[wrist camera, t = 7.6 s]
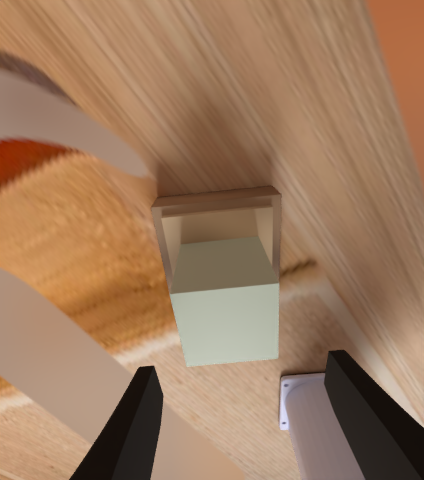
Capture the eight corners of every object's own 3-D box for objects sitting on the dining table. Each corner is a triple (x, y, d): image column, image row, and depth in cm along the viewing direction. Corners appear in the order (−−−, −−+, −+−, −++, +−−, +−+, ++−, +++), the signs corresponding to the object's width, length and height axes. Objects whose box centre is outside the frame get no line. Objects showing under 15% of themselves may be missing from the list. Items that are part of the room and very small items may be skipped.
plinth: (271, 300, 21) (279, 322, 19) (179, 308, 21) (176, 331, 19) (272, 185, 17) (283, 196, 14) (157, 197, 17) (149, 209, 15)
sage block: (260, 297, 18) (278, 358, 13) (191, 304, 18) (186, 366, 13) (258, 236, 15) (279, 283, 11) (180, 244, 16) (169, 293, 11)
